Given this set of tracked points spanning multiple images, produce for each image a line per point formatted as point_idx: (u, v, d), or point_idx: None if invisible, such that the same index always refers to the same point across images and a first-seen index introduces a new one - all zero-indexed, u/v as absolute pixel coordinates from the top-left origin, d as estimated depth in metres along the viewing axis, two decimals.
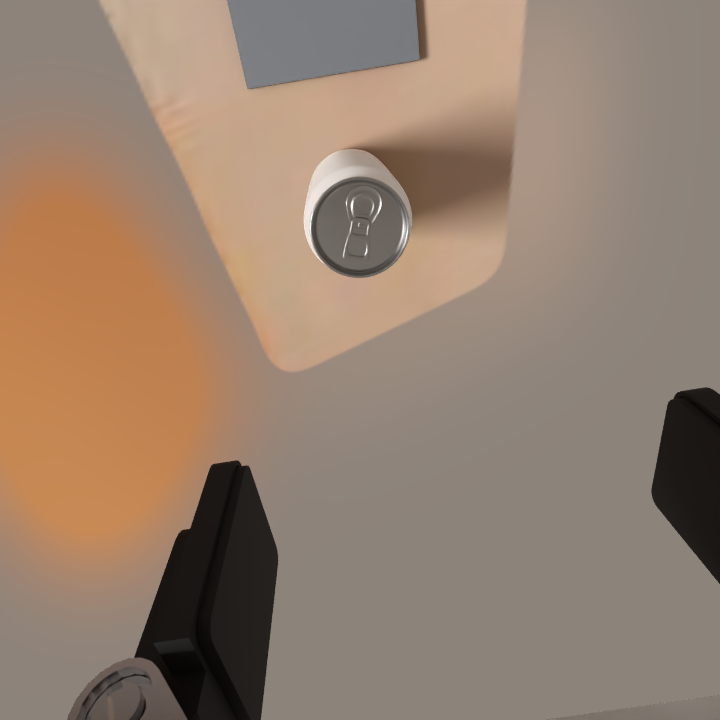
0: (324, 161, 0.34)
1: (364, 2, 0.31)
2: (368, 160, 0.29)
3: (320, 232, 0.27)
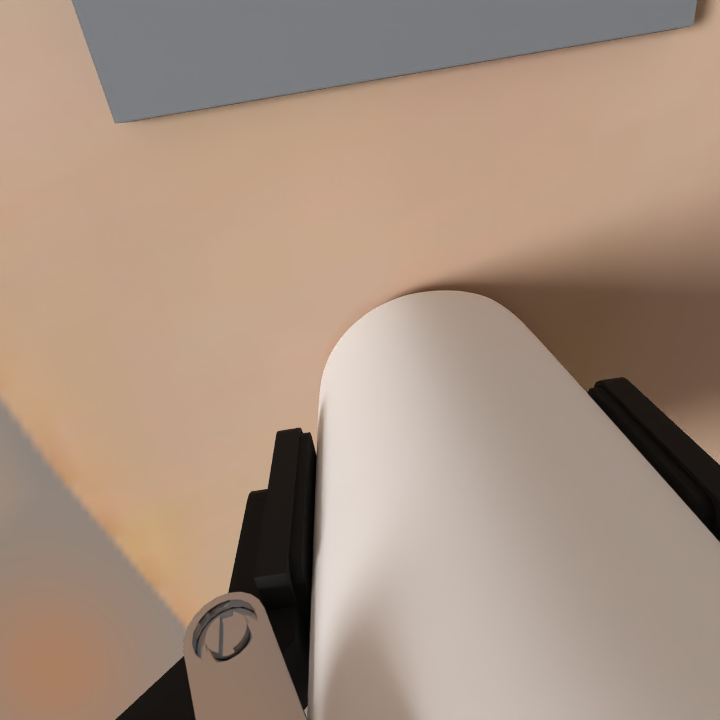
0: (370, 353, 0.11)
1: None
2: (614, 483, 0.06)
3: None
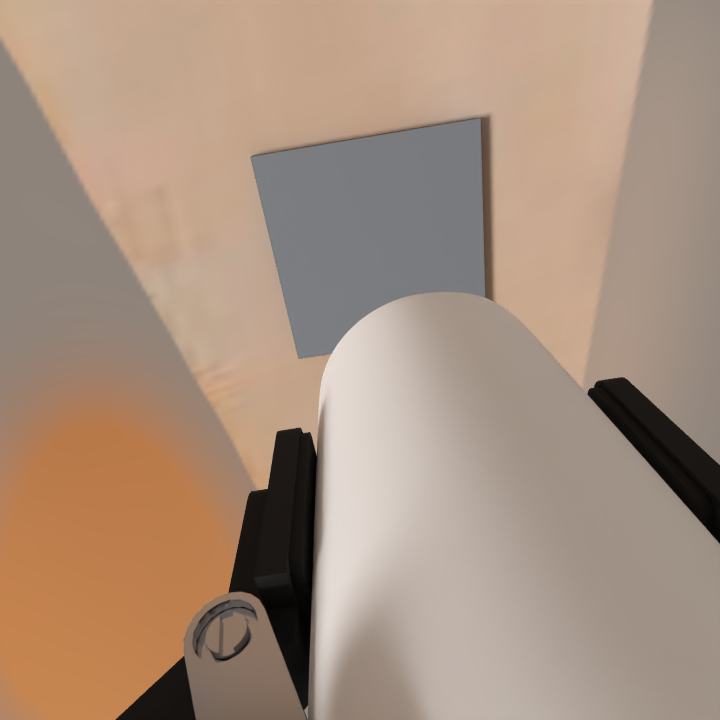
0: (371, 355, 0.11)
1: (429, 282, 0.29)
2: (615, 487, 0.06)
3: None
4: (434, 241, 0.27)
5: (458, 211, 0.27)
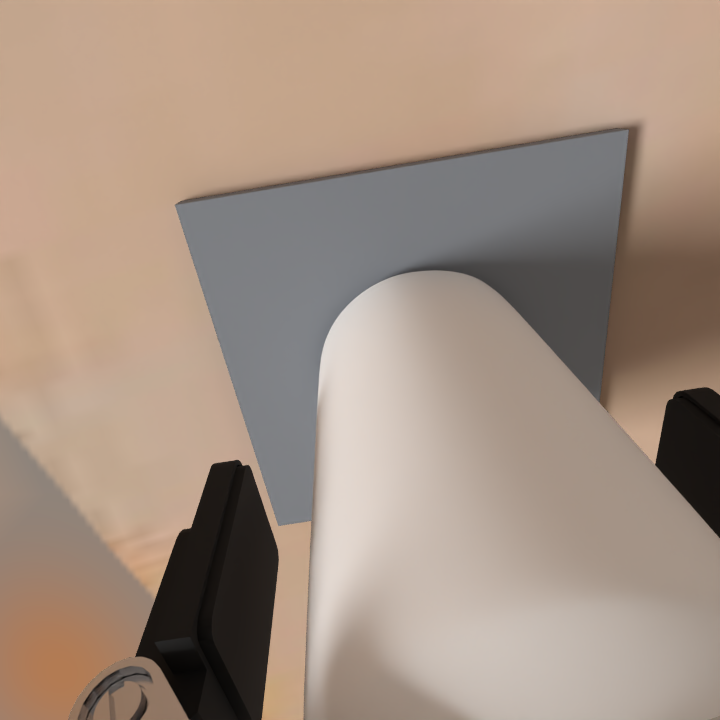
0: (365, 323, 0.12)
1: None
2: (566, 415, 0.07)
3: None
4: None
5: (567, 298, 0.15)
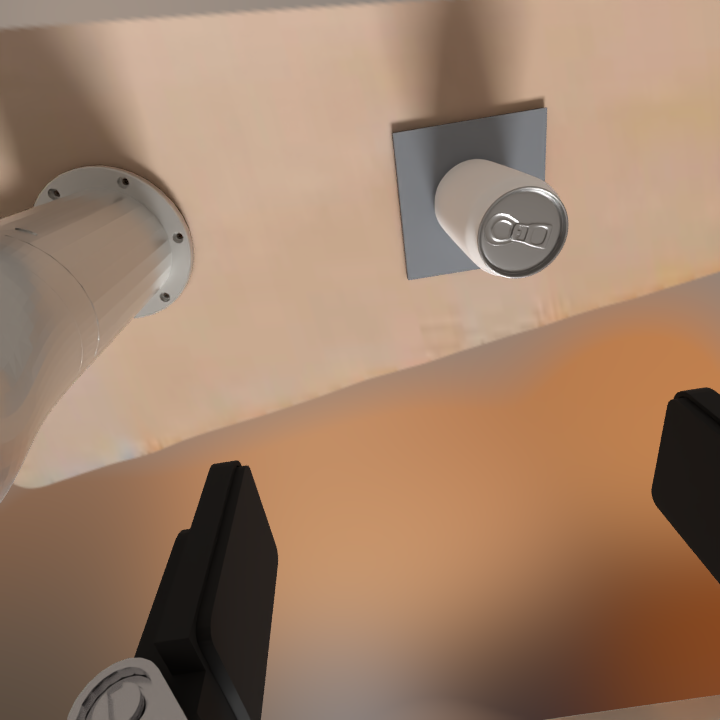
0: (445, 231, 0.38)
1: (500, 161, 0.39)
2: (456, 208, 0.33)
3: (518, 268, 0.31)
4: (470, 159, 0.38)
5: (451, 142, 0.38)
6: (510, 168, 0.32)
